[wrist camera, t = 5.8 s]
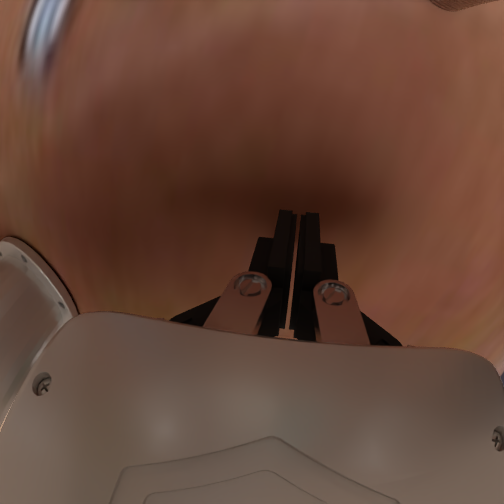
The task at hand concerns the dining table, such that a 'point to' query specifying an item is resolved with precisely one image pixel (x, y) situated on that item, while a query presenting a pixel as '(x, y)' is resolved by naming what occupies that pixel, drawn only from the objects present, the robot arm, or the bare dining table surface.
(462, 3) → the outer post
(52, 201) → the dining table surface
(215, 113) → the dining table surface
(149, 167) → the dining table surface
